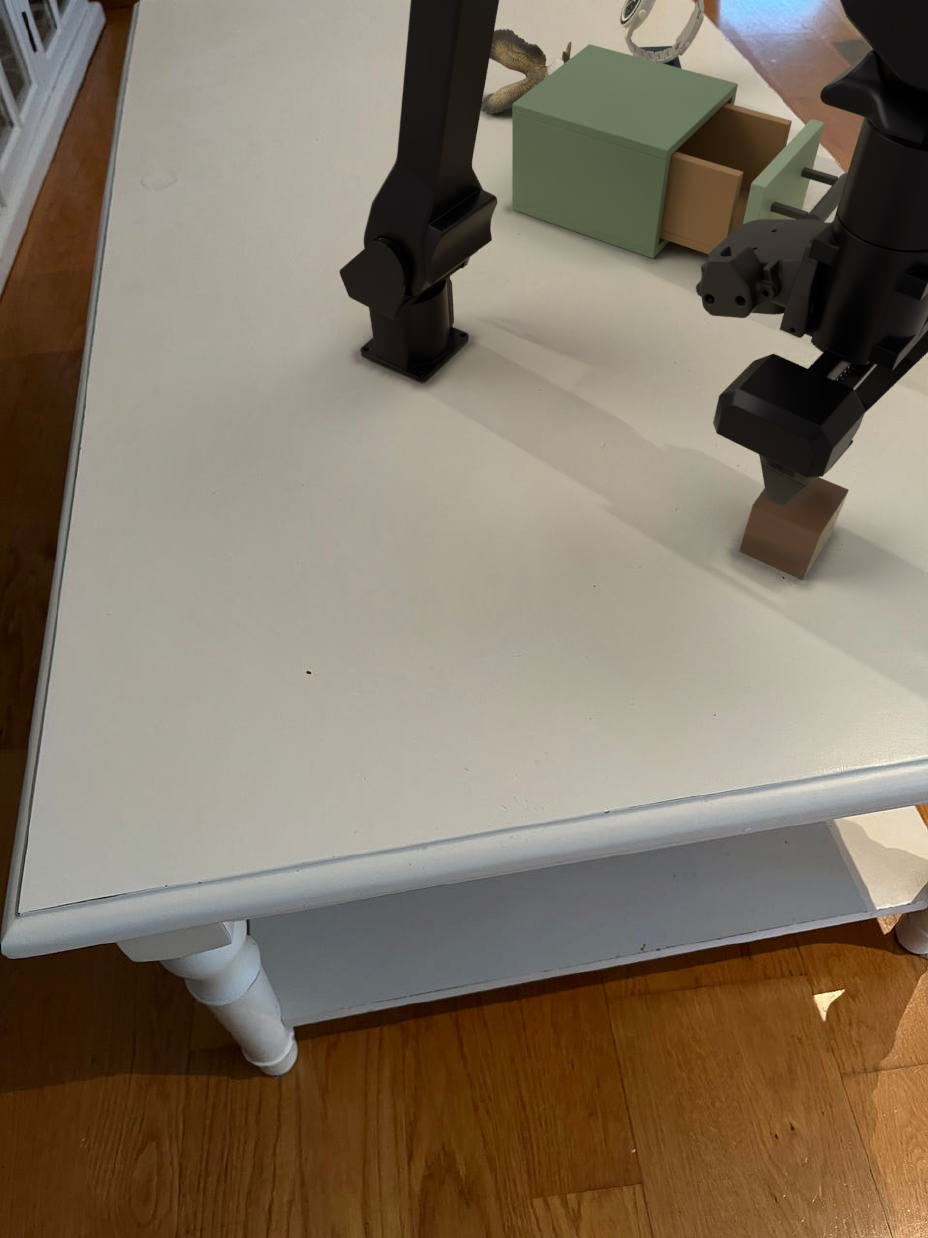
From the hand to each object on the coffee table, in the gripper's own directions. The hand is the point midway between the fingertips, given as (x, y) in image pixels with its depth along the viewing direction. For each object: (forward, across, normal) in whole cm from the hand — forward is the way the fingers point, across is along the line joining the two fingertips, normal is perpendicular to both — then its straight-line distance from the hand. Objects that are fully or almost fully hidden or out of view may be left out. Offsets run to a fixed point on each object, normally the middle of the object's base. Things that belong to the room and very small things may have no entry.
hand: (814, 456), depth 58 cm
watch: (+8, -46, -41) cm, 63 cm away
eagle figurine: (+8, -36, -50) cm, 63 cm away
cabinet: (+8, -27, -33) cm, 43 cm away
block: (+8, 0, 0) cm, 8 cm away
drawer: (+7, -28, -22) cm, 36 cm away
